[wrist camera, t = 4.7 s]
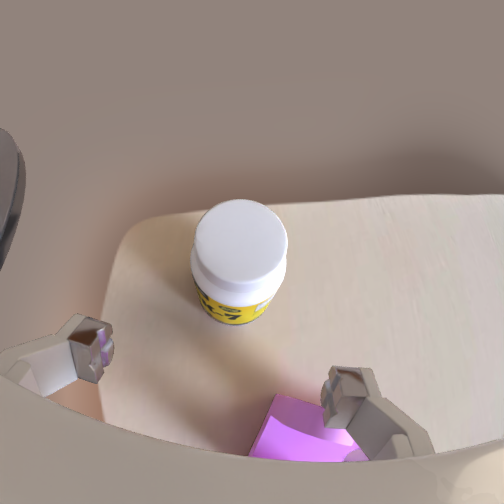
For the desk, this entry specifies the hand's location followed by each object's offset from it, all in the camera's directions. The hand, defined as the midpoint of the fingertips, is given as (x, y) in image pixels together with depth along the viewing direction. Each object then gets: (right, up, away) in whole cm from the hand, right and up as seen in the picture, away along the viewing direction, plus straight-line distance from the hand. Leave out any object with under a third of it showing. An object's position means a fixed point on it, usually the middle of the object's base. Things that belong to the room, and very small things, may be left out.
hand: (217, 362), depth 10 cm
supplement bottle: (0, +1, +10) cm, 10 cm away
